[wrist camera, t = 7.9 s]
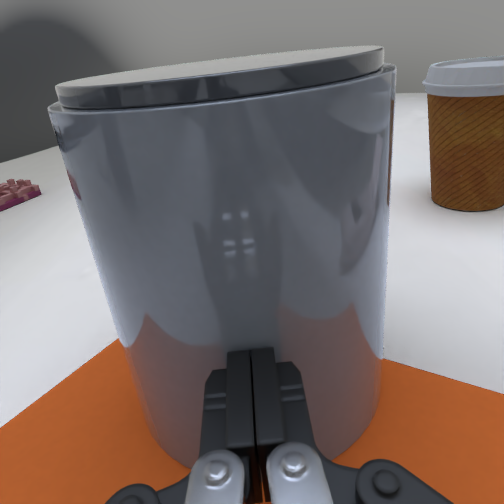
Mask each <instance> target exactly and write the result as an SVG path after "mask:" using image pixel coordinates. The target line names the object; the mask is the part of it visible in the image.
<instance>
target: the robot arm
mask: <svg viewBox="0 0 504 504" xmlns="http://www.w3.org/2000/svg"><path fill="white" fill-rule="evenodd" d="M251 352H252V361H251V354H250V349H249V350H239V351H230V352H227V368H226V369H217V370H212V372H211V373H210V375H209V377H208V379H207V380H206V382H205V389H204V401H203V413H202V426H201V438H200V450H199V457H198V460H197V461H196V462H195V464H194V465H193V467H192V469H191V472H190V473H189V474H188V475H187V476H185V477H184V478H183V479H181V480H180V481H178V482H176V483H174V484H172V485H170V486H168V487H165V488H163V489H161V490H158V491H155V490H154V489H153V488H152V487H151V486H149V485H146V484H142V483H136V484H131V485H128V486H125V487H123V488H122V489H120V490H119V491H117V492H116V493H115V494H114V495H112V496H111V497H110V498H109V500H108V501H107V502H106V503H105V504H256V503H263V494H262V482H263V489H264V496H265V502H271V504H454V503H453V502H451V501H450V500H448V499H447V498H446V497H444V496H443V495H442V494H440V493H439V492H437V491H436V490H435V489H433V488H432V487H430V486H429V485H428V484H426V483H425V482H424V481H422V480H421V479H419V478H418V477H417V476H415V475H414V474H413V473H411V472H410V471H408V470H407V469H406V468H404V467H403V466H401V465H400V464H398V463H396V462H394V461H391V460H387V459H373V460H370V461H368V462H366V463H364V464H363V465H362V466H361V467H360V469H358V468H353V467H348V466H343V465H340V464H337V463H334V462H332V461H330V460H329V459H327V458H326V457H325V456H324V455H323V454H322V453H321V452H320V451H319V449H318V448H317V446H316V444H315V440H314V435H313V431H312V426H311V421H310V416H309V411H308V406H307V401H306V396H305V391H304V387H303V382H302V377H301V372H300V371H299V370H298V368H297V367H296V366H295V365H294V364H293V362H292V361H289V362H280V363H276V362H275V355H274V348H273V347H266V348H257V349H251ZM261 475H262V479H261Z"/></svg>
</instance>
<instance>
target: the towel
mask: <svg viewBox="0 0 504 504" xmlns="http://www.w3.org/2000/svg"><path fill="white" fill-rule="evenodd" d="M373 459H387V460H391V461H394V462H396V463H398V464H400V465H401V466H403V467H404V468H406V469H407V470H408V471H410V472H411V473H413V474H414V475H415V476H417V477H418V478H419V479H421V480H422V481H424V482H425V483H426V484H428V485H429V486H430V487H432V488H433V489H435V490H436V491H437V492H439V493H440V494H442V495H443V496H444V497H446V498H447V499H448V500H450V501H451V502H453V503H454V504H504V394H501V393H498V392H494V391H491V390H487V389H484V388H481V387H477V386H474V385H471V384H467V383H464V382H461V381H457V380H454V379H450V378H447V377H444V376H440V375H437V374H434V373H430V372H427V371H424V370H420V369H417V368H413V367H410V366H407V365H403V364H400V363H397V362H393V361H390V360H386V359H383V360H382V381H381V393H380V400H379V404H378V407H377V410H376V413H375V415H374V417H373V419H372V420H371V422H370V424H369V426H368V427H367V429H366V430H365V431H364V432H363V434H362V435H361V436H360V438H359V439H358V440H357V441H356V442H355V443H354V444H352V445H351V446H350V447H349V448H348V449H347V450H346V451H345V452H343V453H342V454H340V455H339V456H337V457H336V458H335V459H333V460H332V462H334V463H337V464H340V465H343V466H348V467H353V468H358V469H360V467H361V466H362V465H363V464H364V463H366V462H368V461H370V460H373ZM190 472H191V469H190V468H188V467H185V466H184V465H182V464H181V463H179V462H178V461H176V460H175V459H173V458H172V457H170V456H169V455H168V454H167V453H166V452H165V451H164V450H163V449H162V448H161V447H160V446H159V445H158V444H157V442H156V441H155V440H154V438H153V437H152V435H151V433H150V431H149V429H148V427H147V425H146V423H145V419H144V416H143V413H142V410H141V407H140V403H139V400H138V397H137V394H136V391H135V388H134V384H133V381H132V378H131V375H130V372H129V368H128V365H127V362H126V359H125V356H124V352H123V349H122V346H121V343H120V340H119V338H118V339H117V340H115V341H114V342H113V343H111V344H110V345H109V346H107V347H106V348H105V349H104V350H102V351H101V352H100V353H98V354H97V355H96V356H94V357H93V358H92V359H90V360H89V361H88V362H86V363H85V364H84V365H82V366H81V367H80V368H79V369H77V370H76V371H75V372H73V373H72V374H71V375H69V376H68V377H67V378H65V379H64V380H63V381H61V382H60V383H59V384H58V385H56V386H55V387H54V388H52V389H51V390H50V391H48V392H47V393H46V394H44V395H43V396H42V397H40V398H39V399H38V400H37V401H35V402H34V403H33V404H31V405H30V406H29V407H27V408H26V409H25V410H23V411H22V412H21V413H19V414H18V415H17V416H15V417H14V418H13V419H12V420H10V421H9V422H8V423H6V424H5V425H4V426H2V427H1V428H0V504H105V503H106V502H107V501H108V500H109V498H110V497H111V496H112V495H114V494H115V493H116V492H117V491H119V490H120V489H122V488H123V487H125V486H128V485H131V484H136V483H142V484H146V485H149V486H151V487H152V488H153V489H154V490H155V491H158V490H161V489H163V488H165V487H168V486H170V485H172V484H174V483H176V482H178V481H180V480H181V479H183V478H184V477H185V476H187V475H188V474H189V473H190ZM262 494H263V503H256V504H271V502H265V496H264V489H263V482H262Z"/></svg>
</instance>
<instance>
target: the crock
mask: <svg viewBox="0 0 504 504" xmlns="http://www.w3.org/2000/svg"><path fill="white" fill-rule="evenodd" d="M396 69H397V68H396V66H395V65H393V64H389V63H384V48H383V47H381V46H352V47H337V48H325V49H312V50H301V51H291V52H281V53H271V54H261V55H253V56H243V57H234V58H226V59H217V60H209V61H201V62H193V63H185V64H177V65H169V66H162V67H154V68H147V69H141V70H133V71H126V72H121V73H120V72H119V73H113V74H107V75H101V76H95V77H89V78H83V79H78V80H73V81H68V82H64V83H60V84H58V85H56V86H55V89H56V92H57V95H58V99H59V101H58V102H56V103H54V104H52V105H50V106H49V107H48V113H49V116H50V119H51V122H52V125H53V129H54V132H55V135H56V138H57V141H58V145H59V148H60V151H61V154H62V157H63V161H64V164H65V167H66V170H67V173H68V177H69V180H70V183H71V186H72V189H73V192H74V196H75V199H76V202H77V205H78V208H79V212H80V215H81V218H82V221H83V224H84V228H85V231H86V234H87V237H88V240H89V244H90V247H91V250H92V253H93V256H94V260H95V263H96V266H97V269H98V272H99V276H100V279H101V282H102V285H103V288H104V292H105V295H106V298H107V301H108V304H109V308H110V311H111V314H112V317H113V320H114V324H115V327H116V330H117V333H118V336H119V340H120V343H121V346H122V349H123V352H124V356H125V359H126V362H127V365H128V368H129V372H130V375H131V378H132V381H133V384H134V388H135V391H136V394H137V397H138V400H139V403H140V407H141V410H142V413H143V416H144V419H145V423H146V425H147V427H148V429H149V431H150V433H151V435H152V437H153V438H154V440H155V441H156V442H157V444H158V445H159V446H160V447H161V448H162V449H163V450H164V451H165V452H166V453H167V454H168V455H169V456H170V457H172V458H173V459H175V460H176V461H178V462H179V463H181V464H182V465H184V466H185V467H188V468H190V469H192V467H193V465H194V464H195V462H196V461H197V460H198V457H199V450H200V438H201V426H202V413H203V401H204V389H205V382H206V380H207V379H208V377H209V375H210V373H211V372H212V370H217V369H226V368H227V352H230V351H239V350H249V349H250V354H251V361H252V352H251V349H257V348H266V347H273V348H274V355H275V362H276V363H280V362H289V361H292V362H293V364H294V365H295V366H296V367H297V368H298V370H299V371H300V372H301V377H302V382H303V387H304V391H305V396H306V401H307V406H308V411H309V416H310V421H311V426H312V431H313V435H314V440H315V444H316V446H317V448H318V449H319V451H320V452H321V453H322V454H323V455H324V456H325V457H326V458H327V459H329V460H330V461H332V460H333V459H335V458H336V457H337V456H339V455H340V454H342V453H343V452H345V451H346V450H347V449H348V448H349V447H350V446H351V445H352V444H354V443H355V442H356V441H357V440H358V439H359V438H360V436H361V435H362V434H363V432H364V431H365V430H366V429H367V427H368V426H369V424H370V422H371V420H372V419H373V417H374V415H375V413H376V410H377V407H378V404H379V400H380V393H381V381H382V360H383V339H384V319H385V298H386V277H387V257H388V236H389V215H390V195H391V174H392V153H393V133H394V112H395V90H396V71H397V70H396ZM261 479H262V475H261Z"/></svg>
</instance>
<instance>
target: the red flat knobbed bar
mask: <svg viewBox="0 0 504 504" xmlns="http://www.w3.org/2000/svg"><path fill="white" fill-rule="evenodd" d="M16 182H17V184H15V181H14V179H9V180H7V183H2V184H0V211H2V210H5V209H7V208H10V207H12V206H14V205H17V204H19V203H22V202H24V201H26V200H29V199H31V198H34V197H36V196H38V195H41V192H40V189H39V186H38V185H32V184H31V182H30V180H25V181H24V180H22V179H20V180H17V181H16Z"/></svg>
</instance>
